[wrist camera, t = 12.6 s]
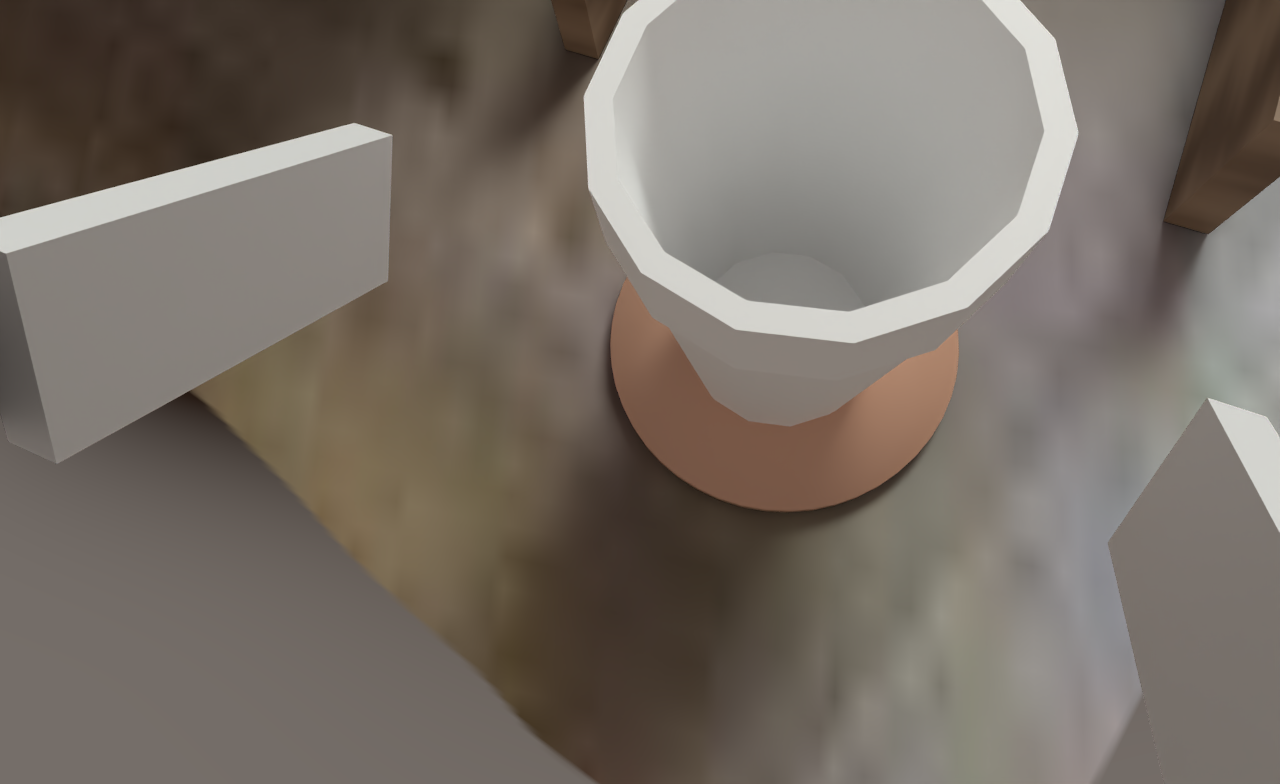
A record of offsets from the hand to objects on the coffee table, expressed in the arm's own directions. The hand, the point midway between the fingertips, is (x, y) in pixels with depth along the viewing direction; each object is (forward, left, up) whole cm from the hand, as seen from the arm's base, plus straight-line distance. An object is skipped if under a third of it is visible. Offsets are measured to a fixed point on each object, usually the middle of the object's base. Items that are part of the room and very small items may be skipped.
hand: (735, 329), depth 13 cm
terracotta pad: (-5, 0, -15) cm, 16 cm away
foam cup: (-5, 0, -15) cm, 16 cm away
